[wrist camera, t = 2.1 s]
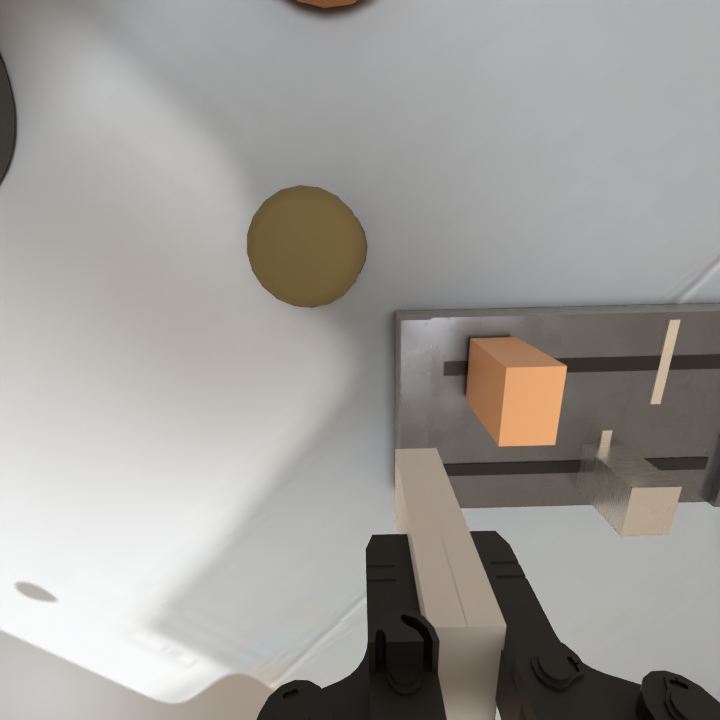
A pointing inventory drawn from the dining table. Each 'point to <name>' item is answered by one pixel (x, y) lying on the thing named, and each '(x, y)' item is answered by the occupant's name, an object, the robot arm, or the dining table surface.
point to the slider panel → (575, 408)
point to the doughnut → (328, 2)
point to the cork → (306, 246)
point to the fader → (515, 391)
